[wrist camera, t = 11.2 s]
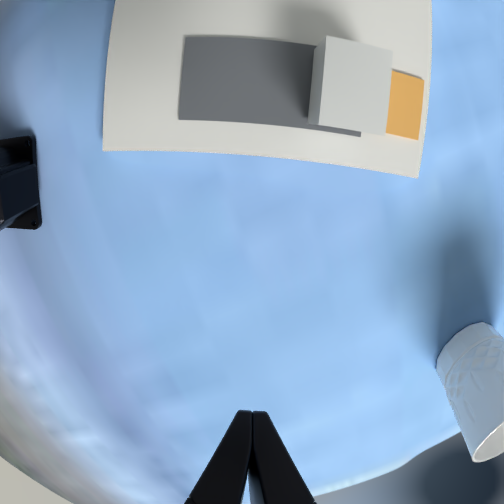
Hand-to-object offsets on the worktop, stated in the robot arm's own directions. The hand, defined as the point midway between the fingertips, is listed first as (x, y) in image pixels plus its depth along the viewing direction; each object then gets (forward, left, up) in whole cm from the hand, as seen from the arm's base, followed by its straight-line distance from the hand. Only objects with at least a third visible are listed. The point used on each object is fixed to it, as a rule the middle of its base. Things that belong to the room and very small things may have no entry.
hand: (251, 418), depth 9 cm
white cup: (+20, -8, -12) cm, 25 cm away
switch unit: (0, +20, -12) cm, 23 cm away
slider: (+3, +10, -10) cm, 15 cm away
